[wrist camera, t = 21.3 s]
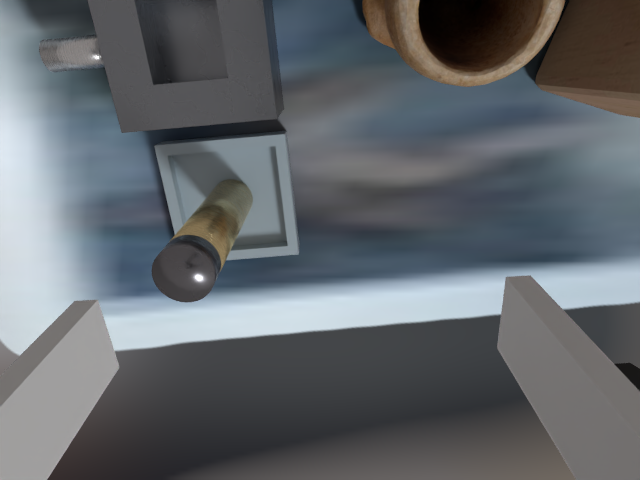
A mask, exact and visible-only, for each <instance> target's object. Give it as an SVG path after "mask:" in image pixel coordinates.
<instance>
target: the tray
mask: <svg viewBox="0 0 640 480" xmlns="http://www.w3.org/2000/svg"><path fill="white" fill-rule="evenodd" d="M154 147H155V151H156V156H157V160H158V164H159V168H160V173H161V177H162V181H163V186H164V190H165V194H166V199H167V203H168V207H169V211H170V216H171V220H172V224H173V229H174V233H175V234H176V233H177V232H178V231H179V230H180V229H181V227H182V226H183V225H184V224H185V223H186V221H187V220H188V219H189V218H190V217H191V215H192V214H193V213H194V212H195V211H196V209H197V208H198V207H199V206H200V205H201V204H202V202H203V201H204V200H205V199H206V198H207V196H208V195H209V194H210V193H211V192H212V190H213V189H214V188H215V187H216V186H217V185H218V184H219V183H220V182H222V181H224V180H228V179H234V180H238V181H241V182H242V183H244V184H245V185H246V186H247V187H248V188H249V189H250V191H251V193H252V196H253V204H252V207H251V209H250V211H249V213H248V215H247V218H246V220H245V222H244V224H243V226H242V228H241V230H240V232H239V234H238V236H237V238H236V240H235V242H234V244H233V246H232V248H231V250H230V252H229V254H228V256H227V259H226V260H235V259H247V258H259V257H271V256H283V255H296V254H299V238H298V229H297V220H296V211H295V202H294V193H293V184H292V175H291V166H290V158H289V149H288V140H287V131H276V132H265V133H254V134H242V135H231V136H220V137H208V138H197V139H186V140H175V141H163V142H160V143H158V144H156V145H154Z"/></svg>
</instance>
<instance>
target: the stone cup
mask: <svg viewBox="0 0 640 480" xmlns="http://www.w3.org/2000/svg"><path fill="white" fill-rule="evenodd" d="M564 4H565V0H363V2H362V6H363V14H364V17H365V19H366V25H367V29H368V32H369V34H370V35H371V36H372V37H373V38H374V39H376V40H377V41H379V42H381V43H382V44H384V45H387V46H389V47H391V48H394V49H396V51H397V52H398V54H399V55H400V56H401V58H402V59H403V60H404V61H405V62H406V64H408V65H409V66H410V67H411V68H413V69H414V70H415V71H417V72H418V73H420V74H421V75H423V76H425V77H428V78H430V79H432V80H435V81H438V82H441V83H444V84H450V85H457V86H465V87H470V86H477V85H484V84H488V83H491V82H493V81H496V80H499V79H502V78H504V77H507V76H508V75H510V74H512V73H513V72H515V71H517V70H518V69H520V68H521V67H523V66H524V65H526V64H527V63H528V62H529V61H530V60H531V59H532V58H533V57H534V56H535V55H536V54H537V53H538V52H539V51H540V50H541V48H542V47H543V46H544V45H545V43H546V42H547V40H548V39H549V37H550V36H551V34H552V33H553V31H554V29H555V27H556V25H557V23H558V21H559V18H560V15H561V13H562V10H563V7H564Z"/></svg>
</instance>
